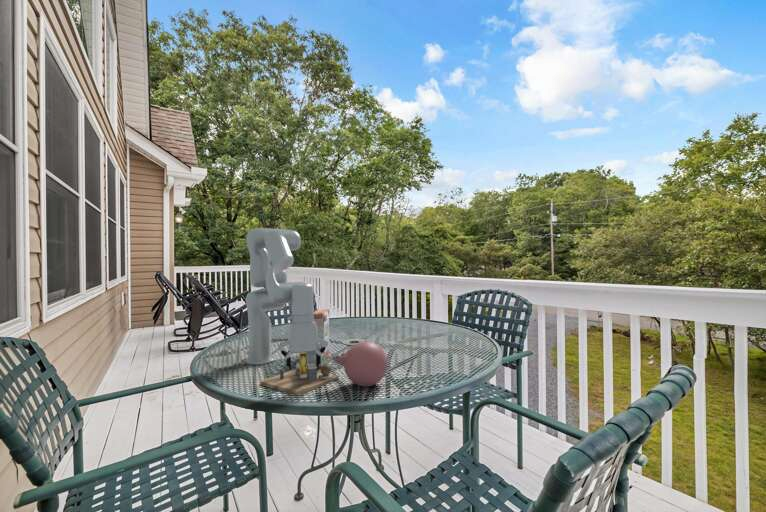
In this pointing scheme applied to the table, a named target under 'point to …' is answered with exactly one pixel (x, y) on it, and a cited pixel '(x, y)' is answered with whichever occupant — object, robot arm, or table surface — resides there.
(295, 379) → the base
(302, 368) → the lever
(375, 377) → the balloon
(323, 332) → the cracker box
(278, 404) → the table surface
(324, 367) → the walnut ball
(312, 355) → the air freshener
